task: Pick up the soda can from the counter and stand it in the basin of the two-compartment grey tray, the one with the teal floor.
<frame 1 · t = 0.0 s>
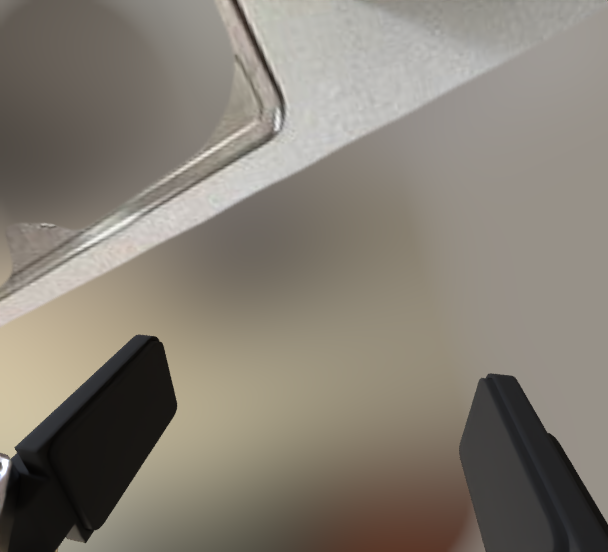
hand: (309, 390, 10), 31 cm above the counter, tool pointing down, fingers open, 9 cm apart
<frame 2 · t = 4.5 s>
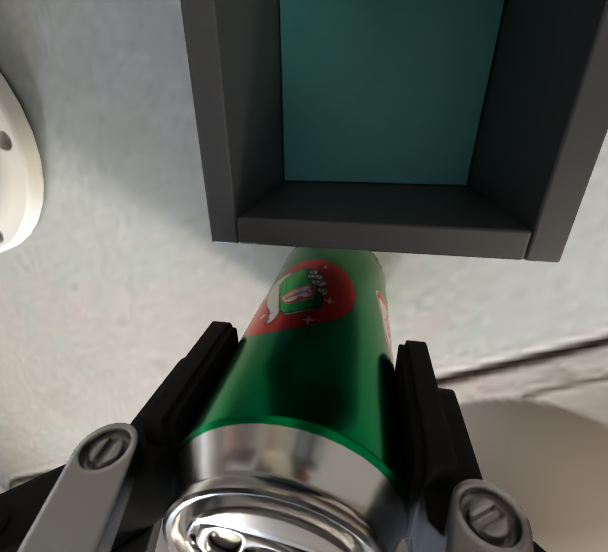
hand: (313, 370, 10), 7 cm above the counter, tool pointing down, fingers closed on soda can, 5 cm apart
soda can: (333, 277, 17), on the counter, touching gripper
when the fingers open (8 cm above the counter, at t = 10.6 s): soda can stays where it is, resting on two-compartment grey tray.
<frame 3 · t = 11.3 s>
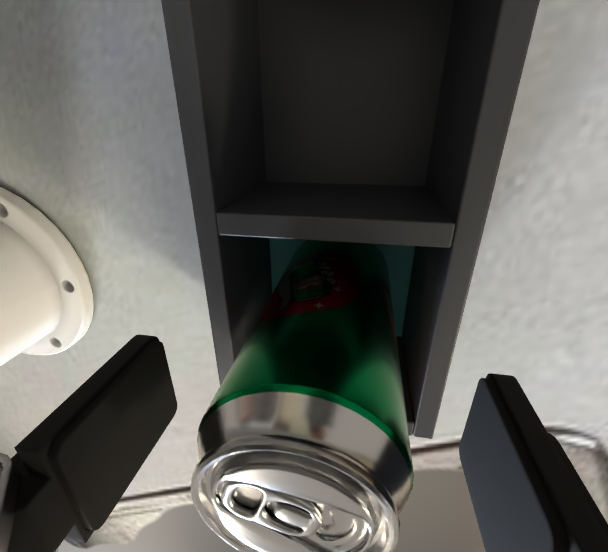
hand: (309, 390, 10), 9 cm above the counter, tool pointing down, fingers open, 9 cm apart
two-compartment grey tray: (343, 189, 16), on the counter
soda can: (339, 270, 17), point 1 cm above the counter, touching two-compartment grey tray
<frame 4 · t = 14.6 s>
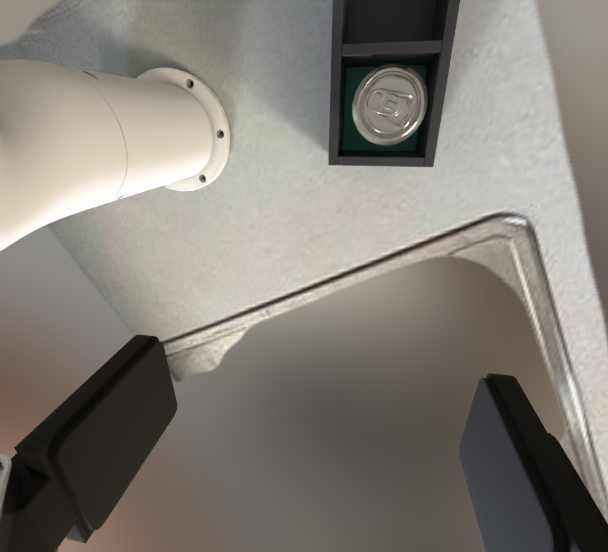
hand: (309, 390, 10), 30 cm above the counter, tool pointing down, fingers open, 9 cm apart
two-compartment grey tray: (386, 61, 31), on the counter
soda can: (382, 110, 32), point 1 cm above the counter, touching two-compartment grey tray
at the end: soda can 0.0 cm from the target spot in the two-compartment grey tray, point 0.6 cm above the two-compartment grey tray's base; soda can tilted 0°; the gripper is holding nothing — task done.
